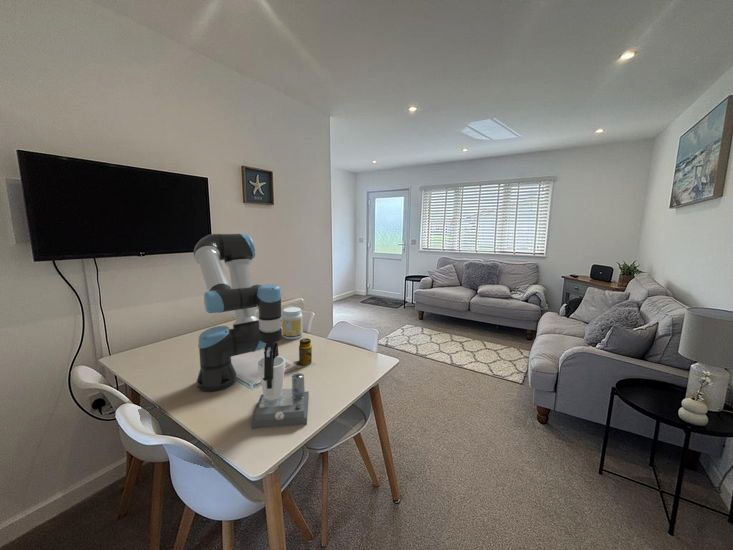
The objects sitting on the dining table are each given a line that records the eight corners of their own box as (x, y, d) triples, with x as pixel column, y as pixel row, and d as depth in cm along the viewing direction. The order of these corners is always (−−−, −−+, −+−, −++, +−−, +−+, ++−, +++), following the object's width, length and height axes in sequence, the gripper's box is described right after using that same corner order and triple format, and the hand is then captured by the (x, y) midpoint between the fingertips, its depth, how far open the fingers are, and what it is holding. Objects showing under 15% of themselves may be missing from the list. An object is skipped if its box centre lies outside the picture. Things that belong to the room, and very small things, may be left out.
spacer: (291, 400, 106) (291, 379, 105) (292, 393, 110) (292, 373, 109) (304, 399, 107) (303, 378, 105) (304, 392, 111) (304, 372, 110)
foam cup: (291, 391, 109) (290, 359, 107) (274, 405, 101) (273, 370, 99) (272, 385, 113) (270, 353, 111) (253, 397, 105) (252, 364, 103)
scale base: (251, 428, 98) (251, 413, 97) (261, 400, 113) (260, 387, 112) (306, 424, 100) (306, 409, 99) (308, 397, 116) (308, 384, 115)
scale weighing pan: (258, 411, 102) (258, 407, 101) (264, 393, 112) (264, 390, 112) (303, 408, 104) (302, 404, 104) (304, 391, 115) (304, 387, 114)
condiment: (314, 364, 143) (314, 341, 141) (298, 368, 139) (297, 344, 137) (308, 358, 149) (308, 336, 147) (292, 362, 145) (292, 339, 143)
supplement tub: (287, 331, 185) (286, 306, 182) (305, 333, 184) (305, 307, 181) (279, 339, 173) (278, 311, 170) (298, 340, 172) (298, 313, 169)
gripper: (277, 340, 93) (279, 405, 96) (285, 318, 114) (286, 371, 118) (252, 341, 91) (255, 406, 95) (265, 319, 113) (267, 372, 117)
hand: (272, 387), depth 107 cm, fingers open, 10 cm apart
